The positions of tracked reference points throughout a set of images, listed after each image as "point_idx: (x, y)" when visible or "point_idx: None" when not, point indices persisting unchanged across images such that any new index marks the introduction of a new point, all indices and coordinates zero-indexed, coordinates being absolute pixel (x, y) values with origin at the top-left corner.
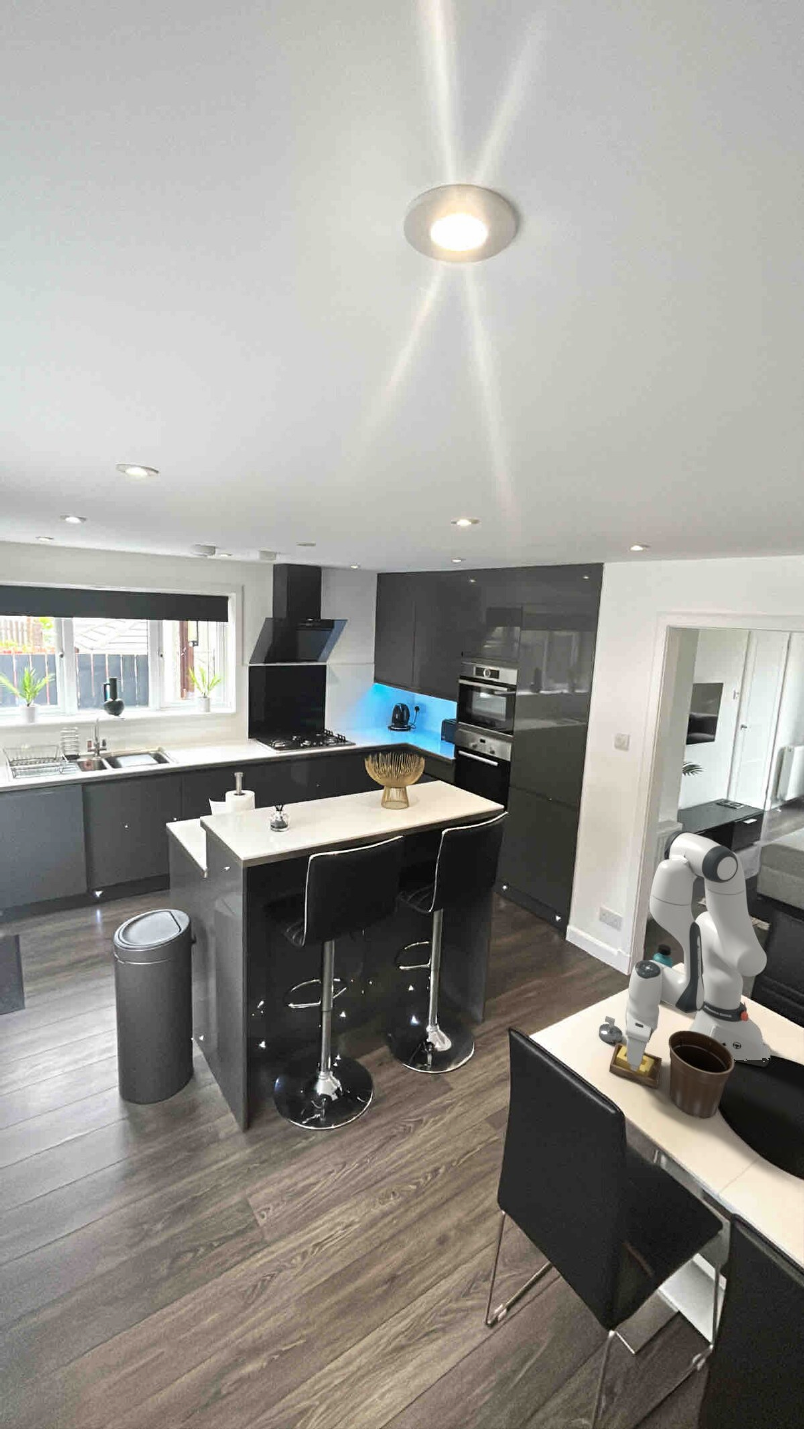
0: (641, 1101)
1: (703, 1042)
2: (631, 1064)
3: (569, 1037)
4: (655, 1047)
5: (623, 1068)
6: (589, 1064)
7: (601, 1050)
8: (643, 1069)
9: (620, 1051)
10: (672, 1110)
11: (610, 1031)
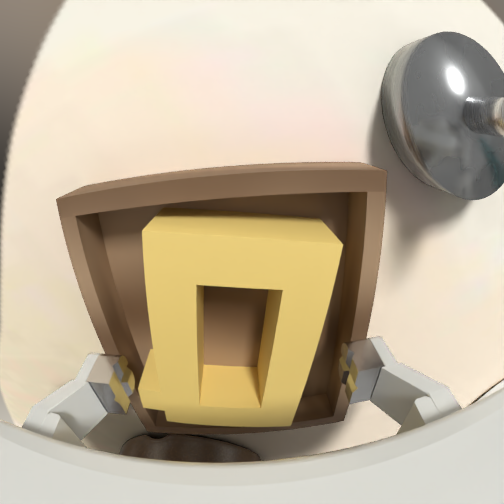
0: (47, 360)
1: None
2: (76, 380)
3: None
4: (440, 342)
5: (94, 293)
6: (73, 57)
7: (275, 66)
8: (159, 403)
9: (239, 245)
10: (105, 431)
11: (470, 111)
